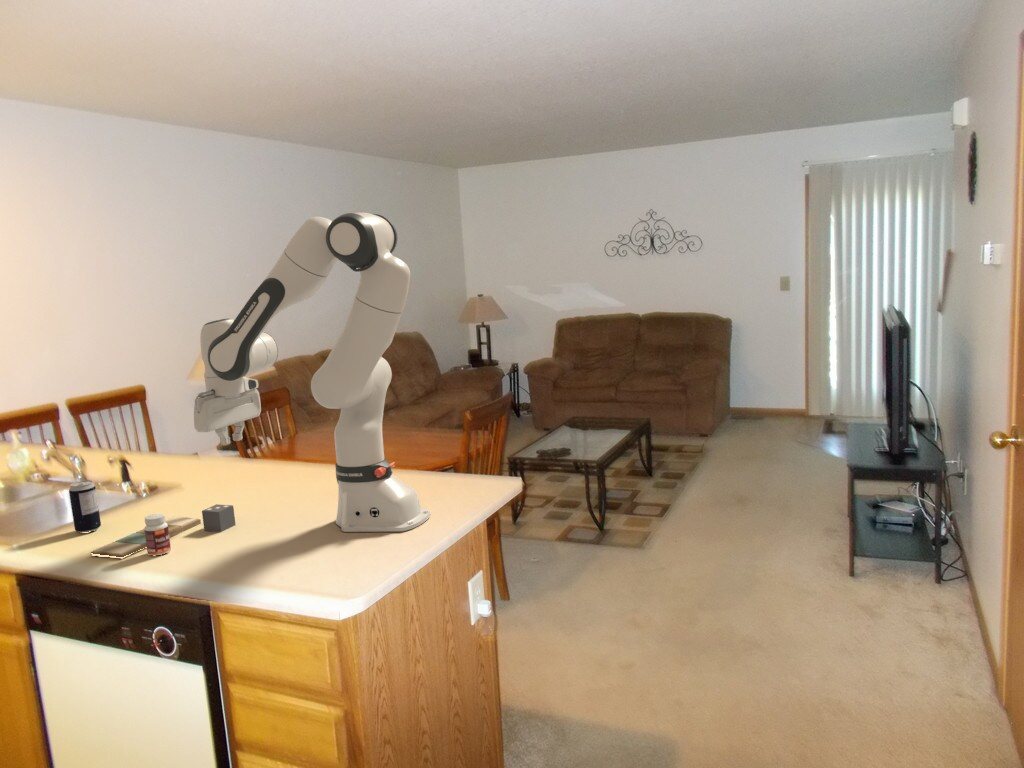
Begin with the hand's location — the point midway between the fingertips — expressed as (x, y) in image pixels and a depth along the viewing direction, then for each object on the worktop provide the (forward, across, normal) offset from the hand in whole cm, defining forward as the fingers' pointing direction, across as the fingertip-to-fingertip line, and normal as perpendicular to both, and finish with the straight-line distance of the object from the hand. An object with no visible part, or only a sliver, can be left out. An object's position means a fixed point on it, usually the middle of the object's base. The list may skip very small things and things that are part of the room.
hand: (231, 442), depth 193 cm
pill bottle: (+19, -24, +2) cm, 31 cm away
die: (+19, -8, 0) cm, 21 cm away
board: (+19, -18, +12) cm, 29 cm away
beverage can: (+19, -16, +33) cm, 41 cm away
